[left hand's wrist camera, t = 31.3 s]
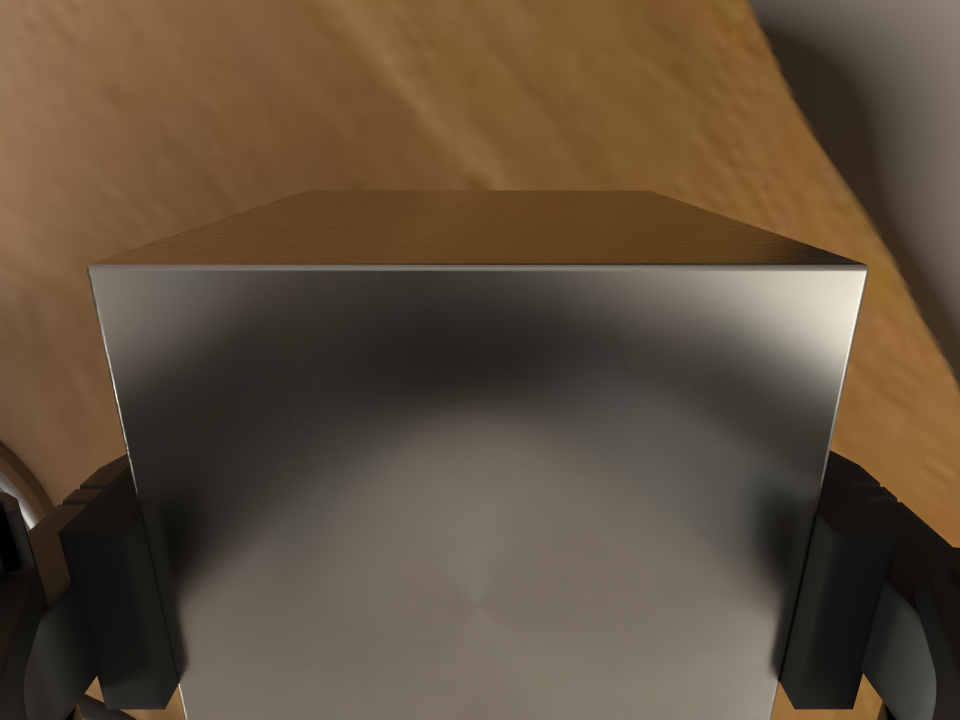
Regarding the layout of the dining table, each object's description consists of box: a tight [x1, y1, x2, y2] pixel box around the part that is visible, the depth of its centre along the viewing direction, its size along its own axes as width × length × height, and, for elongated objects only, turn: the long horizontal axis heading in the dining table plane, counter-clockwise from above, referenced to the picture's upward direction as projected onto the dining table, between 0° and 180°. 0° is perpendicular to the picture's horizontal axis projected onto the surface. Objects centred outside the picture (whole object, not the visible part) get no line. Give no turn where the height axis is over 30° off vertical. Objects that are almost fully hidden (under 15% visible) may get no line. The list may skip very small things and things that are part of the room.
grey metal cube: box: [87, 191, 869, 720], centre depth 12 cm, size 8×9×9 cm
